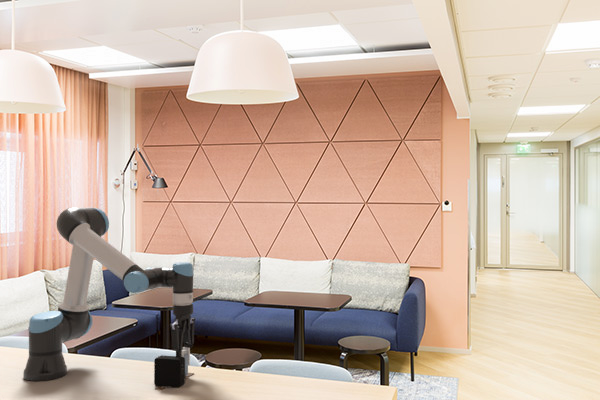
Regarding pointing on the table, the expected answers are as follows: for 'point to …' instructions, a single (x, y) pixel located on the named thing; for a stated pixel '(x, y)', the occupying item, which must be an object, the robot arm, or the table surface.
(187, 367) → the marker peg
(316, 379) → the table surface
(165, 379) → the electronic device
